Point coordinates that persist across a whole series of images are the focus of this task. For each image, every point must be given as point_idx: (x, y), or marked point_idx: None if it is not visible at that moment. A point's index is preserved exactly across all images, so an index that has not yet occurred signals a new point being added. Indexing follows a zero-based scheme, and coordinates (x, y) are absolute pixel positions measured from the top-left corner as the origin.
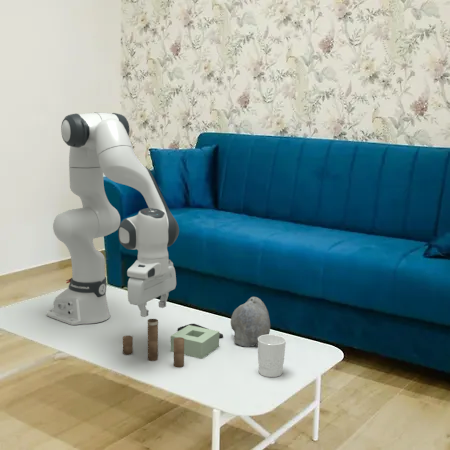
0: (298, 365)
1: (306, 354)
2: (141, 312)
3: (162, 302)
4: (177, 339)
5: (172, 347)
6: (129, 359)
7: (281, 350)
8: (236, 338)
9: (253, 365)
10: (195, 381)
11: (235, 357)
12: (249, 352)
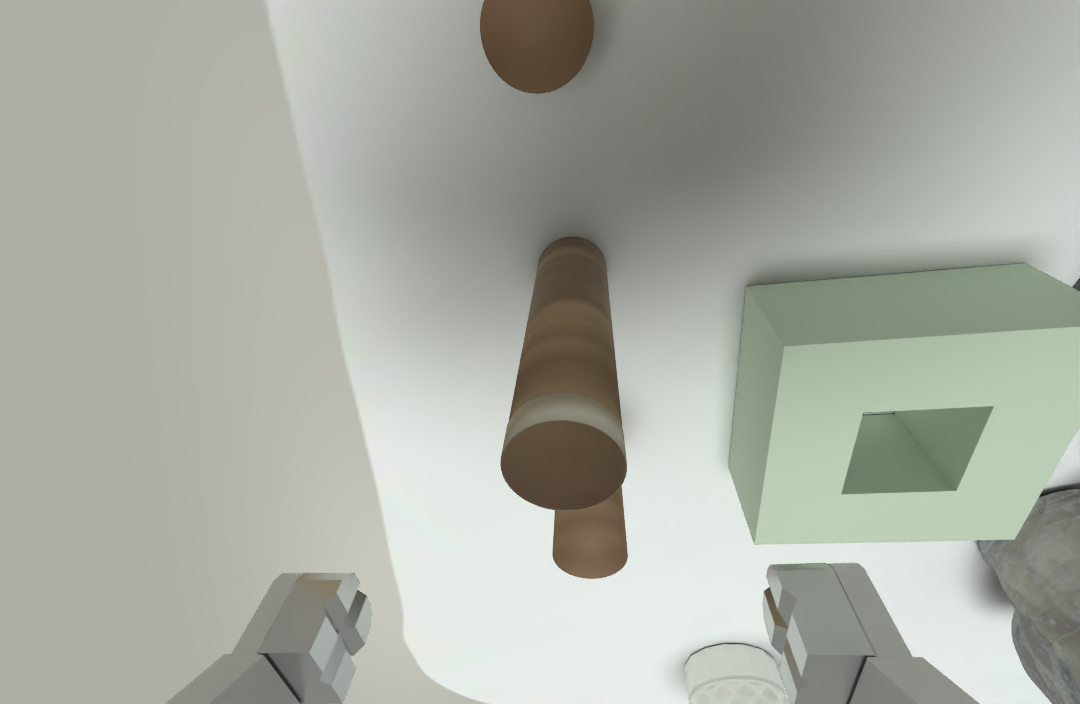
0: None
1: None
2: (257, 633)
3: (793, 698)
4: (580, 551)
5: (753, 315)
6: (464, 142)
7: None
8: (1041, 534)
9: (764, 620)
10: (495, 540)
11: (819, 556)
12: (908, 575)
